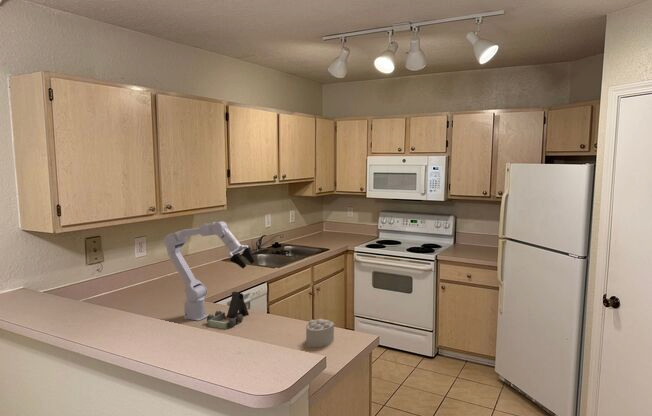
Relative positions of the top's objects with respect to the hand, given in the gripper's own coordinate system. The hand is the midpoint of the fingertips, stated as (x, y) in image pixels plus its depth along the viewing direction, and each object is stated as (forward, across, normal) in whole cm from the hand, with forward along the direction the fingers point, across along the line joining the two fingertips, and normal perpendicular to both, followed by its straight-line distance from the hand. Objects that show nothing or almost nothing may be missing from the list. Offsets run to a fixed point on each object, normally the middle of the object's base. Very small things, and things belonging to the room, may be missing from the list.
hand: (249, 264), depth 204 cm
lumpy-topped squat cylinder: (+46, -9, -10) cm, 48 cm away
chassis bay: (+14, -5, +27) cm, 31 cm away
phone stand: (+15, +4, +28) cm, 32 cm away
